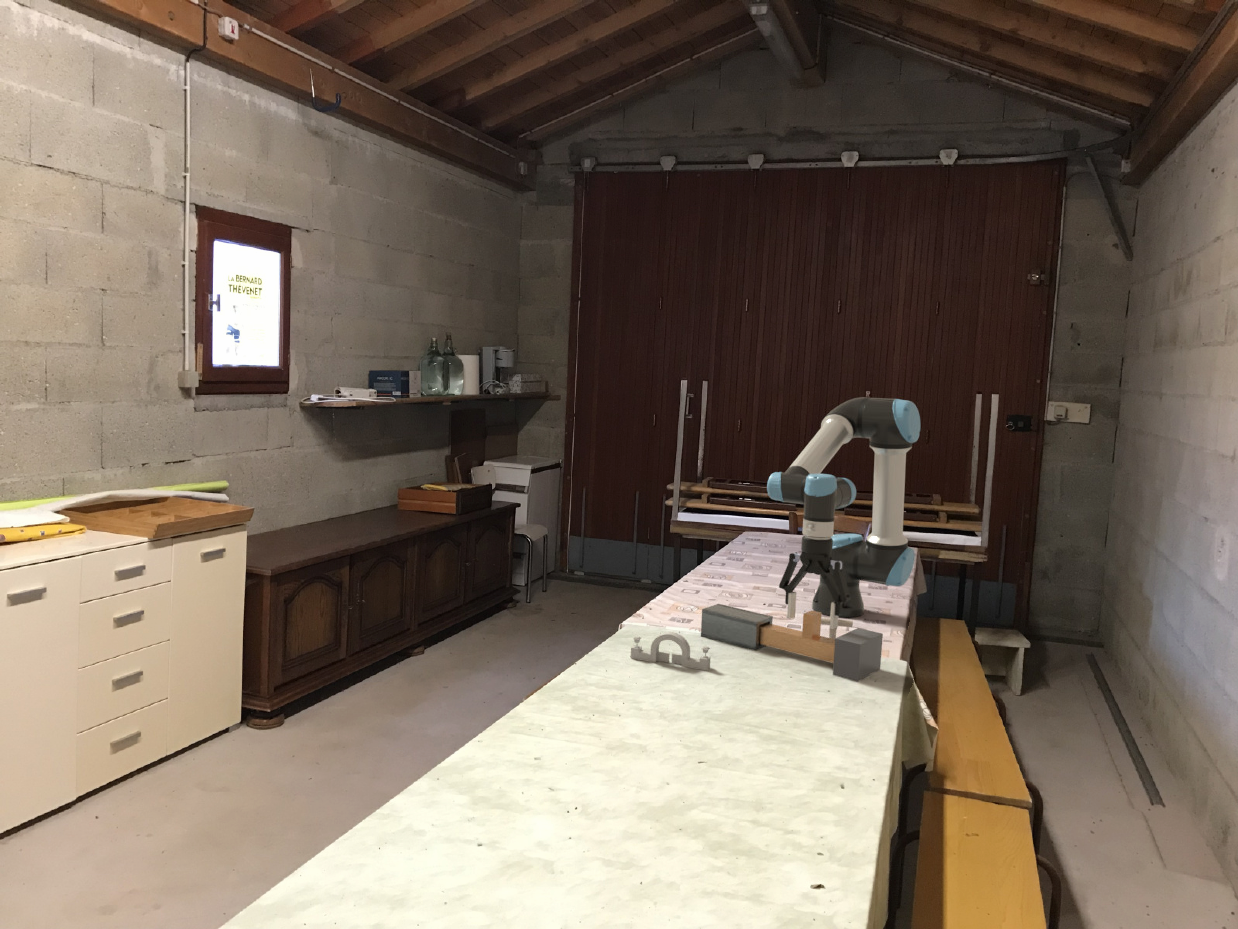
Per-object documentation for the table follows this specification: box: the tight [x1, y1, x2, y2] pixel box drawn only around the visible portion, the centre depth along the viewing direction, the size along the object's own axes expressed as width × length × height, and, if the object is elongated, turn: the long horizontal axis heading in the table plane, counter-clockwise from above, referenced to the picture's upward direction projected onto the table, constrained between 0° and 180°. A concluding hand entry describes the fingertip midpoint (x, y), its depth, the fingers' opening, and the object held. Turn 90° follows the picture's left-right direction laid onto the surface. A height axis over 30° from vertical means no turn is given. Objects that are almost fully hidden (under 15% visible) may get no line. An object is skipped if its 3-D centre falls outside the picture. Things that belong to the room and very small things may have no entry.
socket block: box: [832, 627, 884, 682], centre depth 231 cm, size 12×6×9 cm, turn 141°
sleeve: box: [700, 603, 773, 652], centre depth 253 cm, size 8×17×8 cm, turn 51°
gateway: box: [630, 631, 711, 671], centre depth 233 cm, size 20×2×8 cm, turn 69°
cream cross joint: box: [821, 613, 854, 639], centre depth 256 cm, size 10×10×10 cm
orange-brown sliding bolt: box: [758, 609, 835, 663], centre depth 240 cm, size 4×30×10 cm, turn 50°
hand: (812, 622), depth 239 cm, fingers open, 11 cm apart
